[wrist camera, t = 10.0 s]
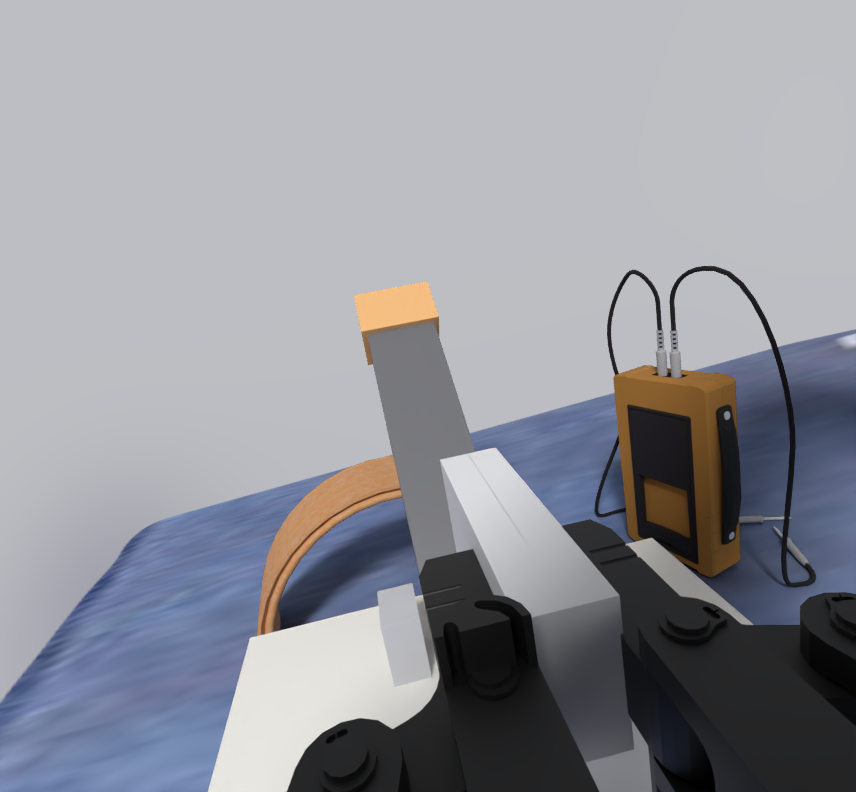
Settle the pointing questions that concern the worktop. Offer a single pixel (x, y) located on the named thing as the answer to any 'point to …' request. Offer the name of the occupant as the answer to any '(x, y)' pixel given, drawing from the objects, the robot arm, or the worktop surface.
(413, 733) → the robot arm
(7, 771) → the worktop surface
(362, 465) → the arch
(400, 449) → the lever
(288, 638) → the white rectangular slab
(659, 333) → the multimeter
